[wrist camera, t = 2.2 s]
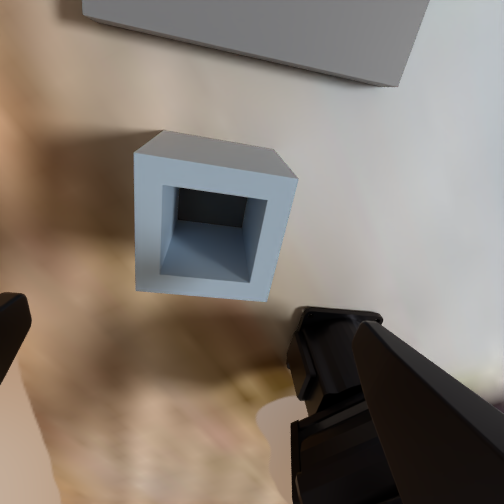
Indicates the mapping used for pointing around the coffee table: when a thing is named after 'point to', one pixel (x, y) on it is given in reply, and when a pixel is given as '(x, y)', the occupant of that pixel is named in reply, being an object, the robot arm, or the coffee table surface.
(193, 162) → the blue-grey hollow cube
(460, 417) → the robot arm
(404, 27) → the pin plate
